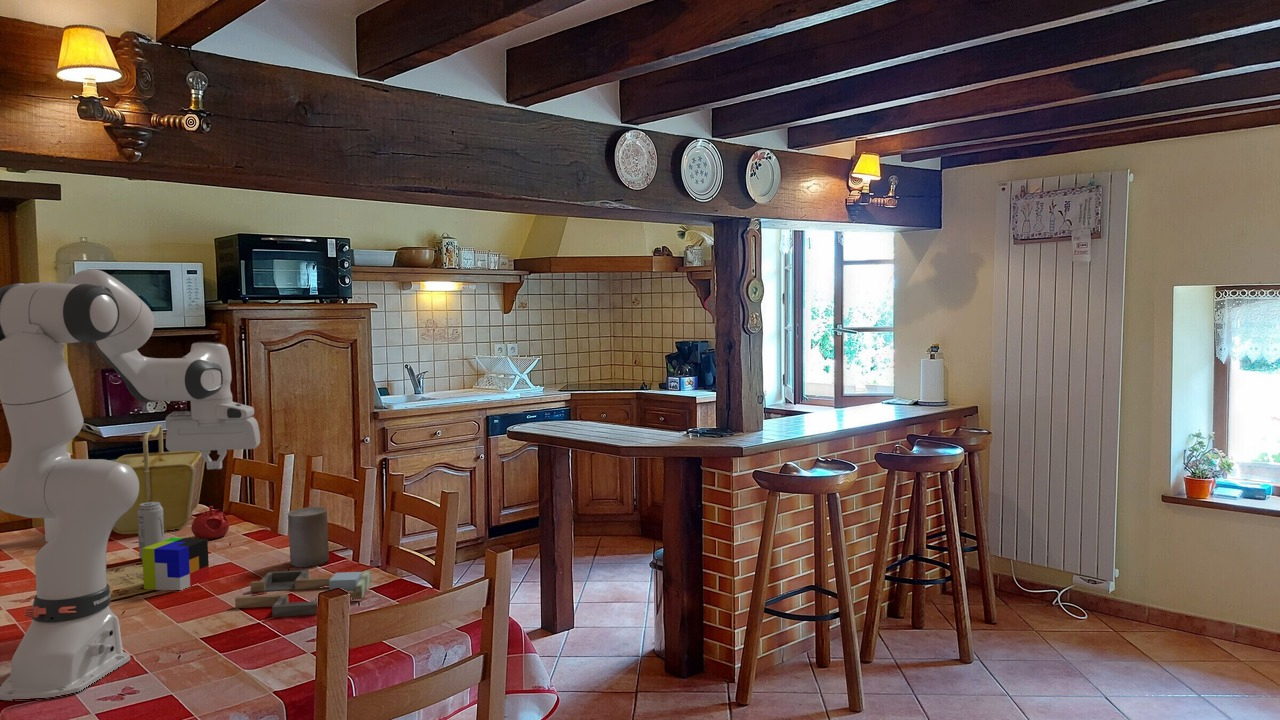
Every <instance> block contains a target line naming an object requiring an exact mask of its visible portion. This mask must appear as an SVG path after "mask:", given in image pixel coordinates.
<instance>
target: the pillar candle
mask: <svg viewBox="0 0 1280 720" xmlns="http://www.w3.org/2000/svg"><path fill="white" fill-rule="evenodd" d="M327 511H328V510H327V508H325V507H320V506H312V507H311V506H309V505H308V506H307V507H303V508H302V507H301V508H297V509H294V510H290V511H288V512H287V520H288V522H287V524H288V537H289V538H288V540H289V541H288V543H289V558H290V559H289V560H290V566H293V567H295V568H302V567H303V568H310V567H311V566H312V567H316V566H317V567H318V566H321V565H324V564H326V563H325V562H327V561H328V560H329V561H330V554H329V551H330V549H329V529H328V527H329V526H328V512H327ZM329 561H328V562H329ZM328 562H327V563H328Z"/></svg>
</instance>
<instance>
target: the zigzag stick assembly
mask: <svg viewBox="0 0 1280 720" xmlns="http://www.w3.org/2000/svg"><path fill="white" fill-rule="evenodd" d="M309 571H310V570H309V569H301V570H300V569H299V570H283V571H282V570H281V571H280V570H279V571H268V572H267V573H266V574H265V575H264V576H263V577H262V578H261V580H255V581H254V580H253V581H251V582H249V583H250V593H257V592H258V593H259V592H275V591H277V592H279V591H296V590H297V591H298V590H313V589H314V590H315V589H316V588H319V589H321V588H320V587H324V586H329V580H330V579H331V578H332V577H333V576H331V577H327V576H326V577H312V578H310V575H309V574H310V572H309ZM371 580H372V579H371V570H370V569H365V570H364V571H363V572H362V576H361V578H360V580H359V582H358V583H357V585H356V590H354V591H347V592H348V593H349V594H350V602H349V603H352V602H351V597H352V600H354V599H355V600H356V599H362V597H363V595H364V593H365V592H366V590H367V588H368V587H369V585H370V583H371V584H372V581H371ZM370 586H371V585H370ZM369 588H370V587H369ZM369 588H368V589H369ZM325 589H328V588H327V587H326V588H325ZM367 591H368V590H367ZM366 593H367V592H366ZM317 597H318V595H317V596H316V598H315V599H314V600H313V601H298V602H297V601H295V602H289V594H288V593H283V594H282V593H281V594H280V593H279V594H266V595H265V594H263V595H262V594H261V595H245V596H236V597H235V598H234V599H235V600H234V601H235V603H234V604H235V609H245V608H246V609H247V608H248V609H249V608H261V607H262V608H263V607H267V608H268V607H271V612H272V613H271V614H272V617H274V618H276V617H293V616H294V617H296V616H309V615H311V616H312V615H313V616H314V615H317V614H316V612H317Z"/></svg>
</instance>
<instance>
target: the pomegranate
mask: <svg viewBox="0 0 1280 720" xmlns="http://www.w3.org/2000/svg"><path fill="white" fill-rule="evenodd" d="M213 508H214V506H213V505H209V506H208V509H209V511H207V510H203V511H199V512H198V513H196V514H195V515H196V517H195V518H194V519H193V521H192V524H191V532H192V534H193V536H195V538H196V539H212V540H215V539H214V538H217V539H219V537H220V538H221V537H224V536H225V535H227V533H228V531H229V528H230V523H229V520H228V518H227V517H226V515H225V512H223V511H221V510H220V509H219V508H218V509H217V508H216V509H213ZM216 511H217V512H216ZM200 513H202V514H201V515H198V514H200Z"/></svg>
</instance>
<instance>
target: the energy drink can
mask: <svg viewBox="0 0 1280 720" xmlns="http://www.w3.org/2000/svg"><path fill="white" fill-rule="evenodd" d="M137 515H138V535H137V536H138V553H139V554H138V556H139V558H140V559H141V561H142V562H143V559H142V548H144V547H147V546H150V545H153V544H155V543H158V542H161V541H164V540H165V531H164V518H163V508H162V506H161V505H160V502H146V503H142V504H140V507H139V509H138V511H137Z"/></svg>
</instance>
